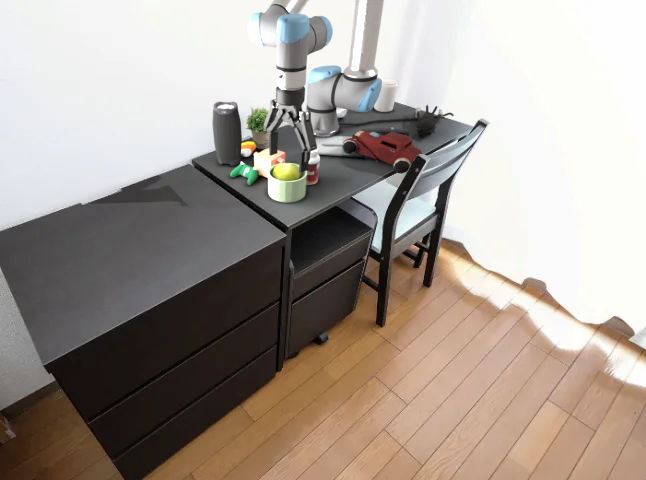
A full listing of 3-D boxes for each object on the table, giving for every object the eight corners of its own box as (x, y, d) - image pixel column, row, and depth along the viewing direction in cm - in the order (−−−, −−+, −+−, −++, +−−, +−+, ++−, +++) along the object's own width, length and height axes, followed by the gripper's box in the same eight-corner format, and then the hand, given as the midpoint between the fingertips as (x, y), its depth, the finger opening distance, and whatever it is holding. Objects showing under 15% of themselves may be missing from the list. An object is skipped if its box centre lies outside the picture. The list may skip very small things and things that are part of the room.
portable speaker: (213, 158, 135) (207, 102, 122) (237, 153, 138) (234, 98, 125) (221, 169, 129) (215, 111, 116) (246, 163, 132) (244, 106, 119)
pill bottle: (295, 183, 122) (297, 151, 114) (302, 174, 126) (304, 143, 119) (314, 187, 120) (317, 154, 112) (320, 178, 124) (323, 146, 117)
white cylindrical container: (394, 108, 169) (401, 79, 161) (389, 114, 164) (395, 85, 156) (377, 105, 172) (382, 77, 164) (371, 110, 167) (376, 82, 159)
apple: (290, 199, 114) (293, 177, 108) (266, 187, 118) (268, 165, 112) (305, 188, 118) (308, 166, 112) (281, 176, 122) (283, 155, 116)
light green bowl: (288, 179, 124) (289, 159, 119) (313, 193, 117) (315, 173, 112) (260, 190, 119) (260, 170, 114) (284, 206, 112) (285, 186, 107)
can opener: (407, 140, 144) (411, 126, 140) (406, 148, 139) (410, 134, 135) (360, 134, 148) (363, 120, 144) (358, 141, 143) (360, 127, 140)
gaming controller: (254, 188, 123) (263, 172, 123) (248, 184, 120) (257, 167, 119) (234, 179, 128) (242, 163, 127) (228, 175, 124) (236, 158, 124)
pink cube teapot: (261, 163, 132) (261, 141, 127) (289, 174, 126) (290, 150, 121) (247, 172, 128) (246, 149, 122) (275, 183, 122) (275, 159, 116)
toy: (414, 113, 167) (407, 137, 145) (418, 97, 163) (411, 120, 141) (441, 116, 163) (437, 142, 142) (445, 101, 159) (442, 125, 138)
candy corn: (255, 140, 138) (251, 151, 133) (257, 147, 140) (253, 158, 135) (240, 141, 140) (235, 152, 134) (242, 149, 142) (237, 160, 136)
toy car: (359, 141, 143) (365, 115, 137) (429, 167, 129) (439, 139, 123) (337, 153, 135) (342, 126, 128) (409, 182, 121) (419, 153, 114)
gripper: (250, 77, 103) (252, 151, 117) (313, 102, 88) (307, 183, 102) (271, 72, 106) (271, 144, 120) (336, 95, 91) (327, 174, 105)
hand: (287, 162), depth 111 cm, fingers open, 13 cm apart
